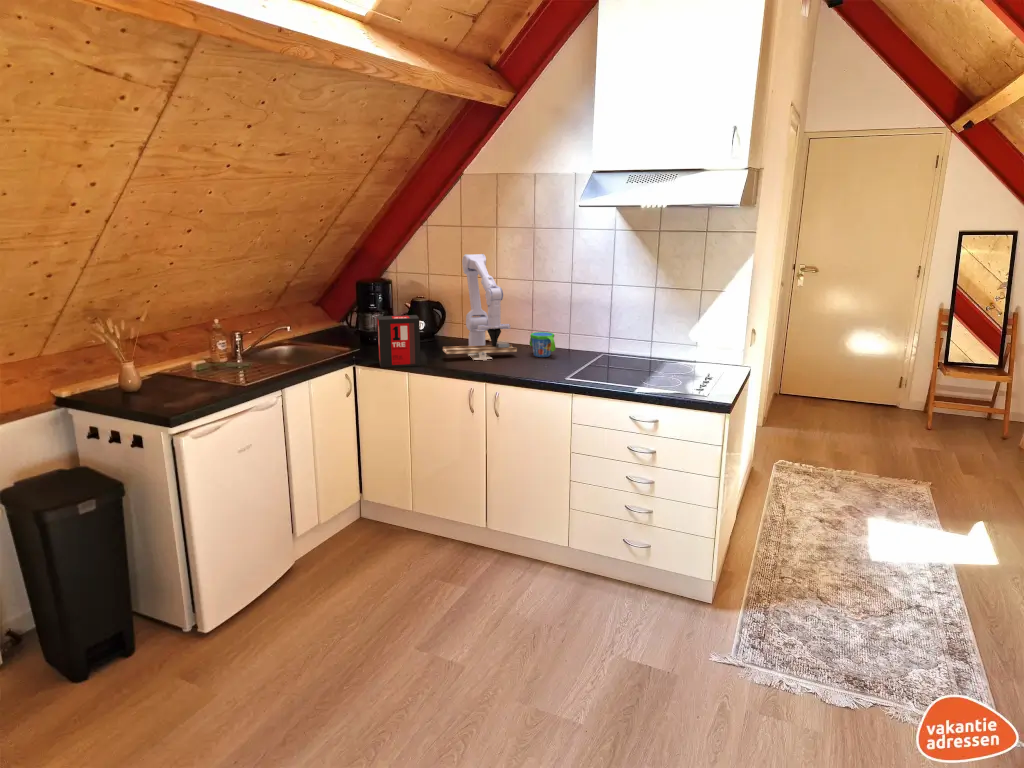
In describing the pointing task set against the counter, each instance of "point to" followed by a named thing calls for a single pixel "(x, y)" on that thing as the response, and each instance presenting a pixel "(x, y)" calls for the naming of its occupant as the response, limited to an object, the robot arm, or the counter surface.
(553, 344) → the snack cup
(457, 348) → the beam
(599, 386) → the counter surface
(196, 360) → the counter surface
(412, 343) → the cleaning product box
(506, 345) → the steel block
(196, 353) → the counter surface
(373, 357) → the counter surface
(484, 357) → the fulcrum stand
